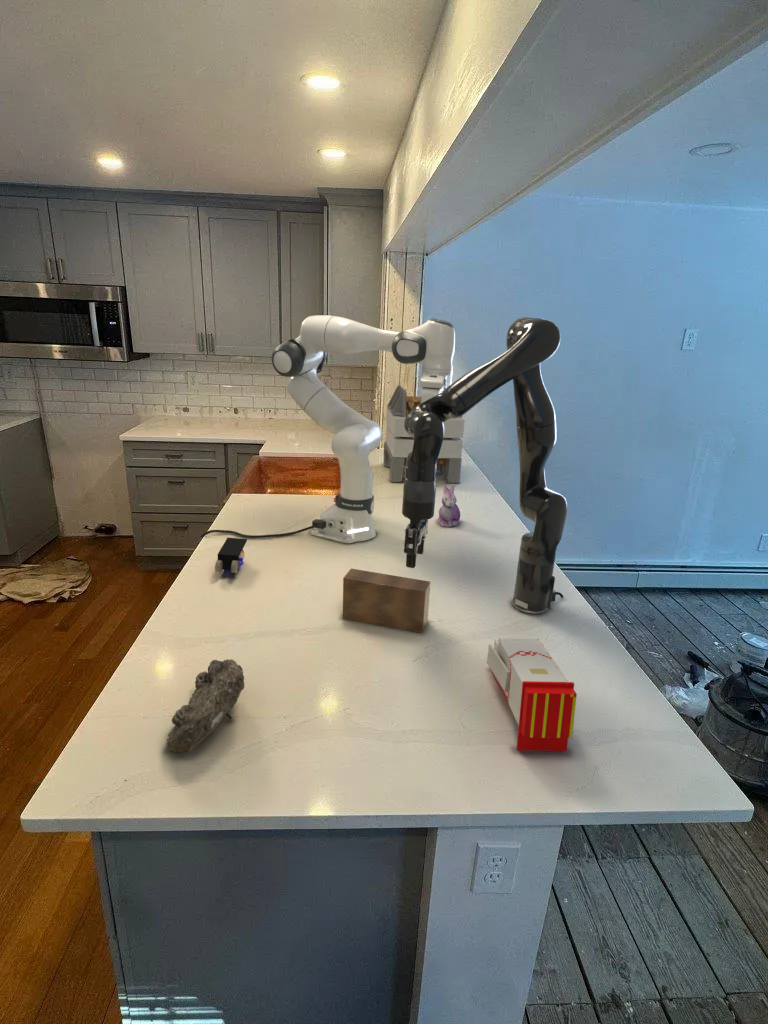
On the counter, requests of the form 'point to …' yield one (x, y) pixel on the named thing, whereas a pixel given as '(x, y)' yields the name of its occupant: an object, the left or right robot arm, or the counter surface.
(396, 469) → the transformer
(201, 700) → the fossil
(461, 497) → the counter surface
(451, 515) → the figurine
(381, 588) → the box
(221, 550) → the black wheeled rover
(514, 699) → the toy
